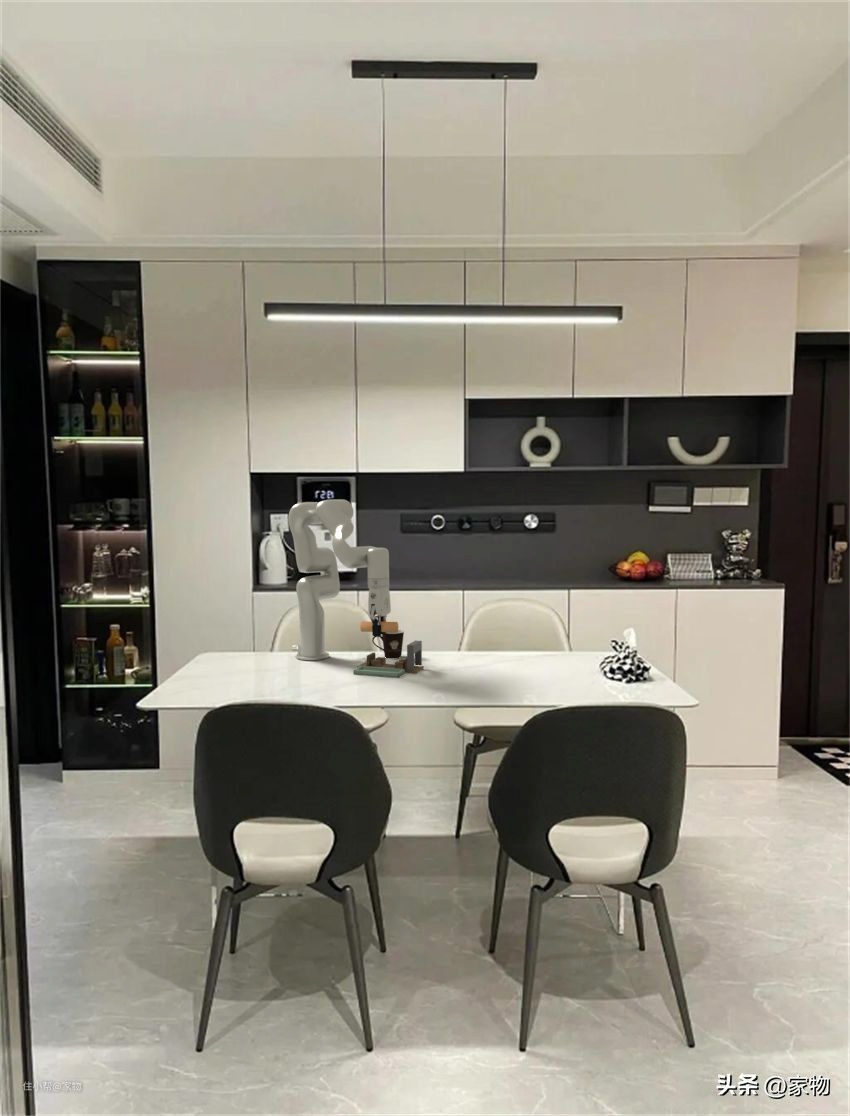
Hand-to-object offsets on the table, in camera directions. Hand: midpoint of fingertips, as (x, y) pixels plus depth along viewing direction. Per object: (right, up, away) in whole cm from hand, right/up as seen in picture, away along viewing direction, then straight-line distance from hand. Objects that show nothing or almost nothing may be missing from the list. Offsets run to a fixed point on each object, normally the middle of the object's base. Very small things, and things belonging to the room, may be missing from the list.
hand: (379, 634), depth 275 cm
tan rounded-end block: (0, +1, 0) cm, 1 cm away
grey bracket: (+12, -12, +5) cm, 18 cm away
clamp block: (+3, -13, +9) cm, 16 cm away
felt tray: (0, -14, +1) cm, 14 cm away
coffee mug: (+2, -12, +29) cm, 32 cm away
